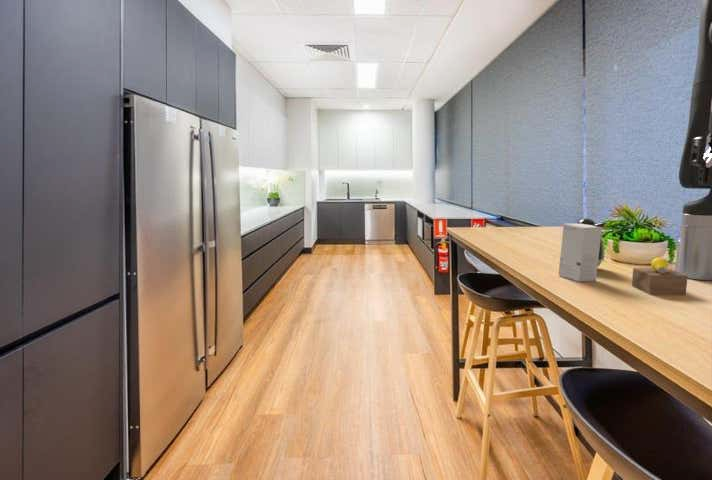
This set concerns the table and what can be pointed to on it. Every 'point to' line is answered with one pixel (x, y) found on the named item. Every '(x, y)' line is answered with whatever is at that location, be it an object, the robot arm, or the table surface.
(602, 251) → the pump dispenser
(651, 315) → the table surface
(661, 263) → the light bulb
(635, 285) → the walnut block
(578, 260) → the skincare box
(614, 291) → the table surface
